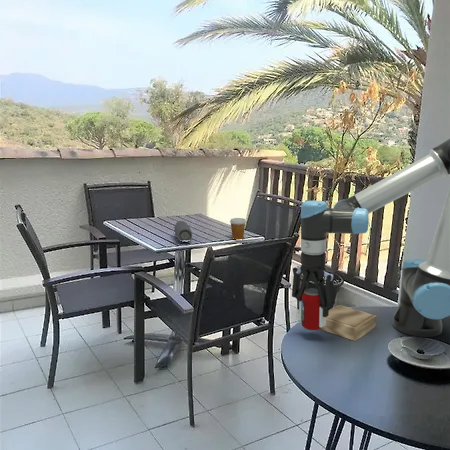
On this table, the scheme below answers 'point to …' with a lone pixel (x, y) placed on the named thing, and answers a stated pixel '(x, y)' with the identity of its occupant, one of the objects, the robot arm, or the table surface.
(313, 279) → the robot arm
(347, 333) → the square tray
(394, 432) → the table surface
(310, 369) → the table surface
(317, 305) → the beverage can
